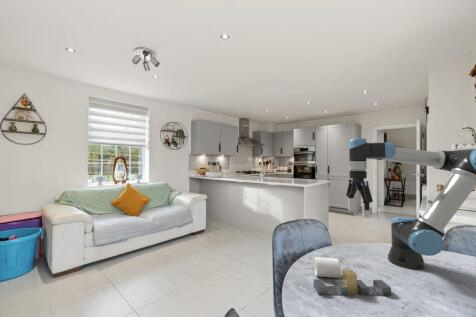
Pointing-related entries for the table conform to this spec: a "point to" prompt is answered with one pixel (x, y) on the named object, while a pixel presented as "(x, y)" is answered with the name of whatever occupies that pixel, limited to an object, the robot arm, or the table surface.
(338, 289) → the rail
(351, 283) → the block
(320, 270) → the mug
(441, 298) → the table surface
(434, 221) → the robot arm
